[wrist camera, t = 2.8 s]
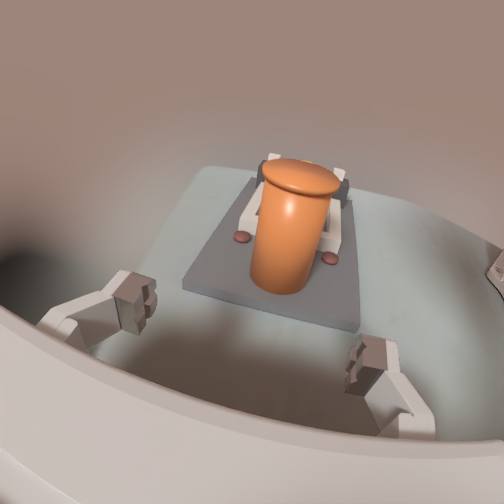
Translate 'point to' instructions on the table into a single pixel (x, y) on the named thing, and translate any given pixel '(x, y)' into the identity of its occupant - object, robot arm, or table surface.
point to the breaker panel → (320, 277)
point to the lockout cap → (290, 223)
